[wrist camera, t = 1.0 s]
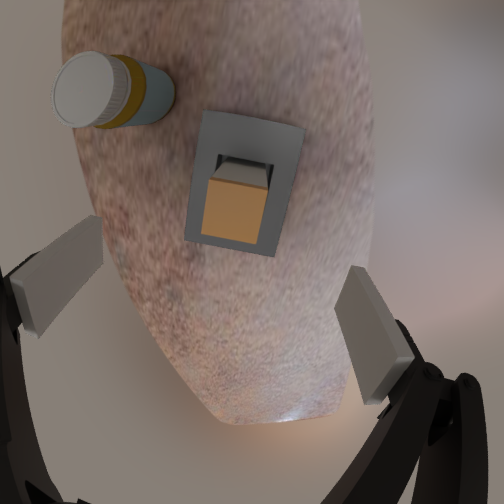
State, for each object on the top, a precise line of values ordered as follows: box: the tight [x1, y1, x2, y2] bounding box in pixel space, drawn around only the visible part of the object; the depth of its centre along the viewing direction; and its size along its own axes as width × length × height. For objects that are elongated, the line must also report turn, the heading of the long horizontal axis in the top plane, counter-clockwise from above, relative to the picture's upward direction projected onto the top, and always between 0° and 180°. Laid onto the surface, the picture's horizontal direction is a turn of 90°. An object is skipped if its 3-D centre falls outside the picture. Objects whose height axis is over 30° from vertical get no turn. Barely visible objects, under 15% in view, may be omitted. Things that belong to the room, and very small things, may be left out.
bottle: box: [51, 51, 176, 129], centre depth 23 cm, size 7×7×15 cm
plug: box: [201, 156, 268, 244], centre depth 27 cm, size 4×4×13 cm
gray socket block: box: [184, 109, 306, 257], centre depth 31 cm, size 14×10×6 cm
